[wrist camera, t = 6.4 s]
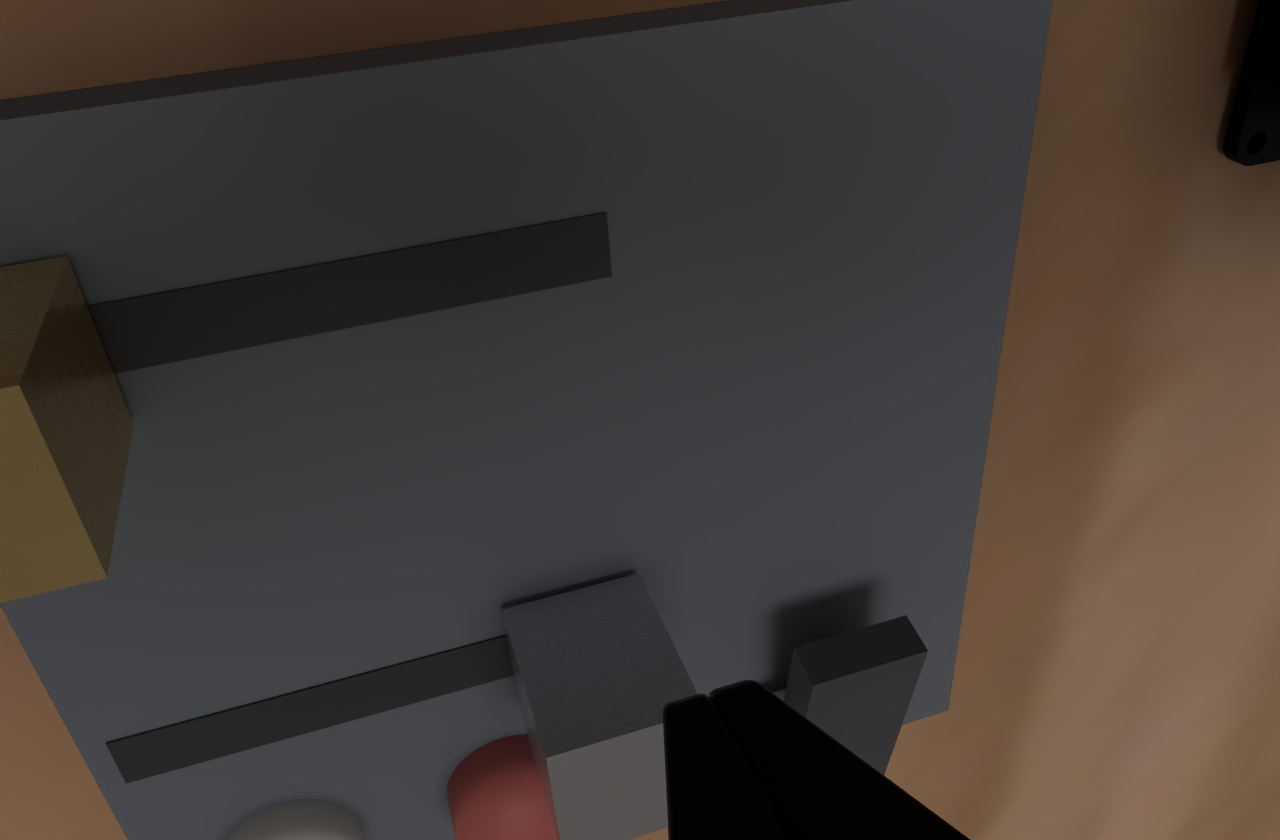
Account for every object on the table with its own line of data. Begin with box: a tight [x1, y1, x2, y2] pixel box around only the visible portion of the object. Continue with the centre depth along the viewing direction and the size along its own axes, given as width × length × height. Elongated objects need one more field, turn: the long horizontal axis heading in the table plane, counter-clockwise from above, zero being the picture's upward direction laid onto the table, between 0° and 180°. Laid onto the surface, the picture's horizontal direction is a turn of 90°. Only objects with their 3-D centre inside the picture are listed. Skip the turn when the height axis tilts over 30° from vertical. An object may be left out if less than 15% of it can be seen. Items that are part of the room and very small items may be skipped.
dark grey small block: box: [773, 615, 928, 775], centre depth 25 cm, size 4×6×2 cm, turn 4°
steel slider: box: [502, 573, 698, 840], centre depth 21 cm, size 3×3×4 cm
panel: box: [0, 0, 1052, 840], centre depth 21 cm, size 20×19×3 cm
